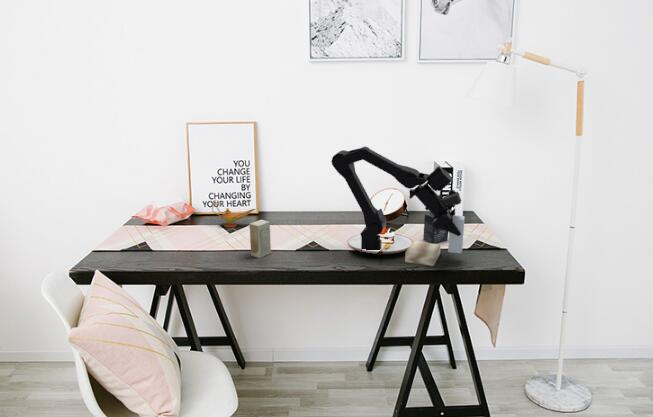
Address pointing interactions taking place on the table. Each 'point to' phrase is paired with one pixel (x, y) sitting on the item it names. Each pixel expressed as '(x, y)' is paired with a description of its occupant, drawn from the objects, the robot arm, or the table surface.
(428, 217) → the box
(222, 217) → the magic lamp
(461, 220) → the tall block
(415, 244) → the wooden block
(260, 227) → the skincare box
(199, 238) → the table surface
